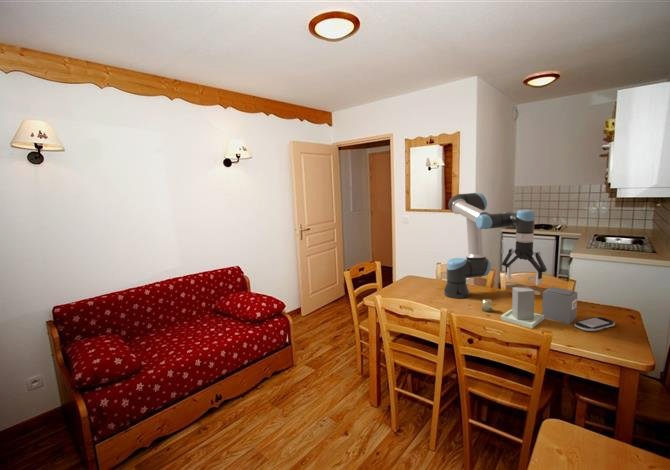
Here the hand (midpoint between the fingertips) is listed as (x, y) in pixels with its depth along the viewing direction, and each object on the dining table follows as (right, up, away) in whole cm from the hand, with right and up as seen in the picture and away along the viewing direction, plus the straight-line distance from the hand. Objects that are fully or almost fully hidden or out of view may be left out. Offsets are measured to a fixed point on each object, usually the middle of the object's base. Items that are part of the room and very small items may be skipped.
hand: (522, 281), depth 162 cm
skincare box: (+1, -19, +3) cm, 19 cm away
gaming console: (+29, -21, -9) cm, 37 cm away
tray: (+1, -20, +3) cm, 20 cm away
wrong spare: (-11, -19, +16) cm, 27 cm away
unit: (+20, -19, +2) cm, 27 cm away
